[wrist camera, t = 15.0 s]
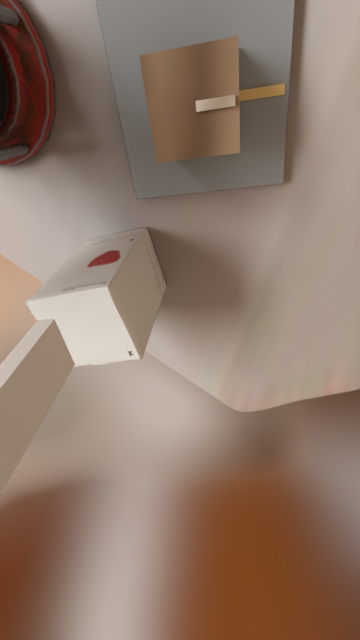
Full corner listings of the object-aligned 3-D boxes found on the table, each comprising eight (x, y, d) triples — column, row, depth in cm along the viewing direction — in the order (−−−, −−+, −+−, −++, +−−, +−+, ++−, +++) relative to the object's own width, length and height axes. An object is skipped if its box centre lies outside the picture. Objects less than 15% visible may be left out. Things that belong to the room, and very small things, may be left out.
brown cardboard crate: (168, 152, 31) (155, 163, 26) (156, 61, 27) (138, 55, 22) (240, 142, 30) (240, 153, 25) (238, 45, 26) (238, 35, 21)
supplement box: (147, 224, 37) (110, 285, 26) (168, 286, 42) (144, 361, 31) (83, 239, 40) (21, 302, 28) (109, 296, 45) (66, 370, 33)
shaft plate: (138, 196, 36) (127, 209, 31) (100, 3, 26) (76, -13, 22) (281, 180, 33) (289, 193, 29) (294, -41, 23) (309, -70, 19)
